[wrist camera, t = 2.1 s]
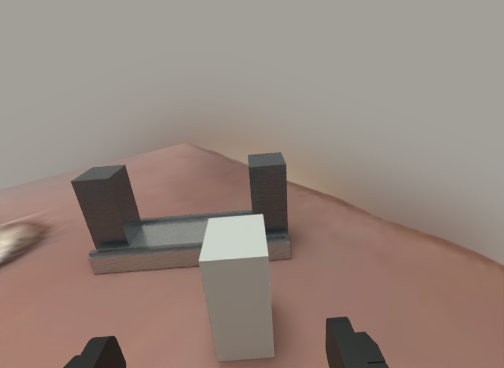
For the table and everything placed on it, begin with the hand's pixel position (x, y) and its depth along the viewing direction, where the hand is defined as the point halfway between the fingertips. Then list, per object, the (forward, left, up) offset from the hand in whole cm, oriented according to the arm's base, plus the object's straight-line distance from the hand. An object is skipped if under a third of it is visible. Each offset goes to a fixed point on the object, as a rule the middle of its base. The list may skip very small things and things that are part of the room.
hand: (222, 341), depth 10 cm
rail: (-16, +22, -14) cm, 30 cm away
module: (-4, +11, -14) cm, 18 cm away
